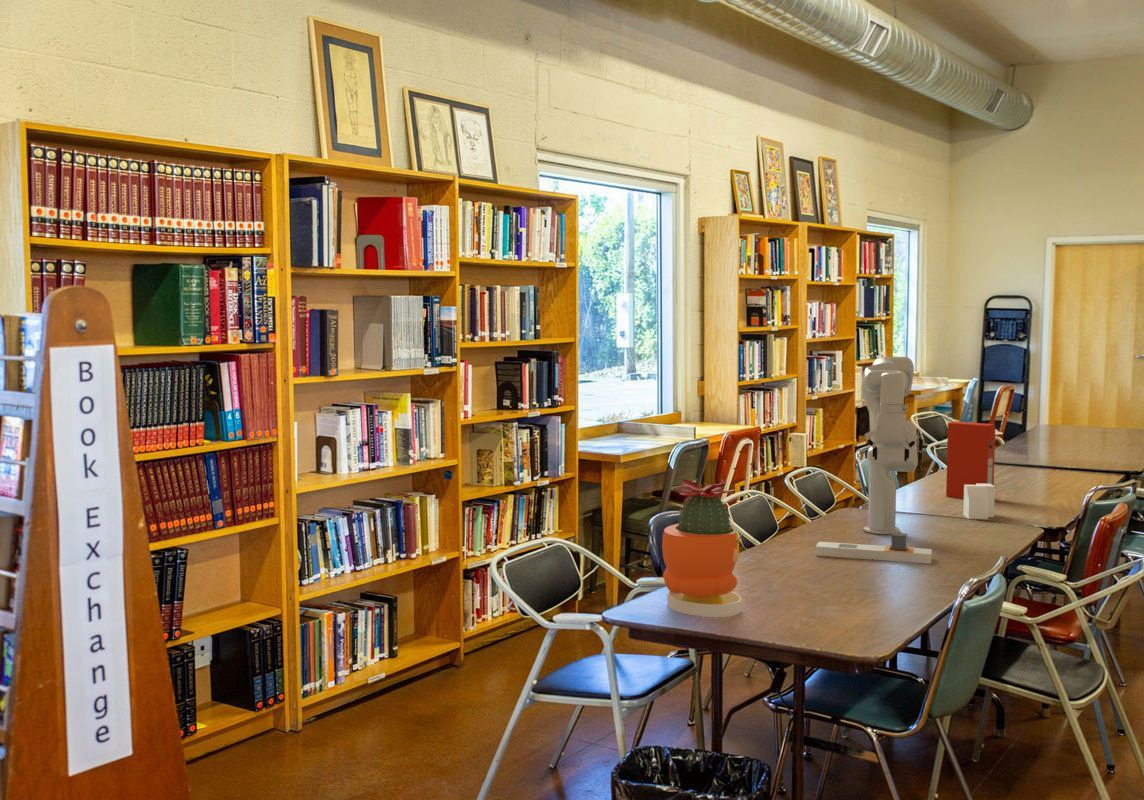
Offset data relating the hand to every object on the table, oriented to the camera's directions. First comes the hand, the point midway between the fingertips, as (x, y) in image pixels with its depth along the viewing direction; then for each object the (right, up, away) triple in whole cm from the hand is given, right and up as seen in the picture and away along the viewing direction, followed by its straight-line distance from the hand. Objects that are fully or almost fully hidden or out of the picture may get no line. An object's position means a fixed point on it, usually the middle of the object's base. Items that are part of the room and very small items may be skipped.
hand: (890, 459), depth 365 cm
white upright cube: (+52, -25, +59) cm, 82 cm away
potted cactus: (-73, -37, -71) cm, 108 cm away
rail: (-9, -31, -10) cm, 34 cm away
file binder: (+63, -22, +99) cm, 119 cm away
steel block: (-1, -31, -13) cm, 34 cm away
